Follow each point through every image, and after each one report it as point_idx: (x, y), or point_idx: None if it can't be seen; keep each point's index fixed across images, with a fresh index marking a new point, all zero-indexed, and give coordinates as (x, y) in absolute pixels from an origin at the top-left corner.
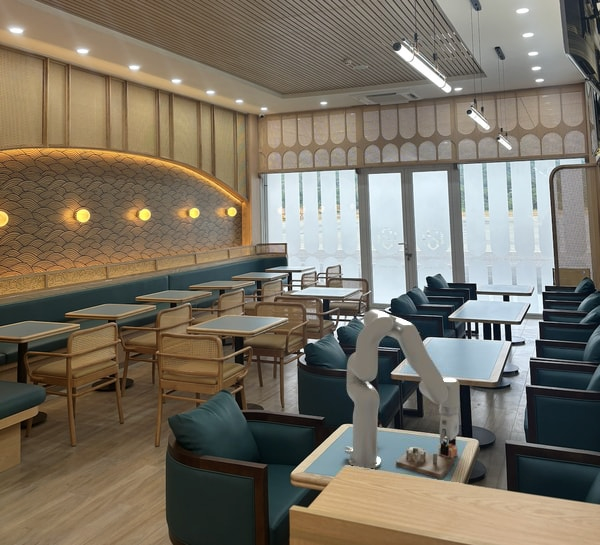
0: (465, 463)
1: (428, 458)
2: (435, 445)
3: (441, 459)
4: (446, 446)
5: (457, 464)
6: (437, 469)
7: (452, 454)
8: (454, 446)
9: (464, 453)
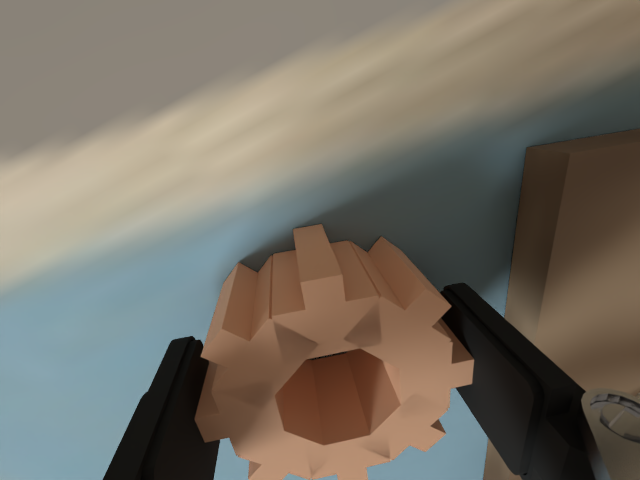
0: (429, 25)
1: (630, 367)
2: (233, 475)
3: (607, 278)
4: (624, 402)
5: (515, 106)
6: None
7: (406, 261)
8: (264, 352)
9: (137, 203)
